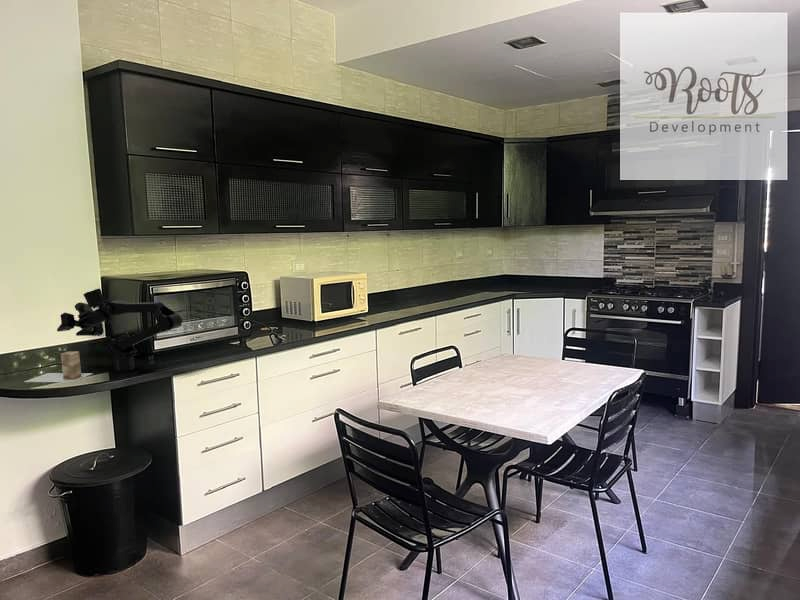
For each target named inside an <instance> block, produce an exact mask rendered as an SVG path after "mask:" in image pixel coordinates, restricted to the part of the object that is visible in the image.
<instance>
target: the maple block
mask: <svg viewBox="0 0 800 600" xmlns="http://www.w3.org/2000/svg"><path fill="white" fill-rule="evenodd" d="M80 357H81V356H80V351H66V352H63V353H60V359H61V367H62V369H61V370H62V373H63V379H76V378H79V377H81V373H82V369H81V359H80Z"/></svg>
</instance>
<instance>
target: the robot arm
mask: <svg viewBox="0 0 800 600" xmlns="http://www.w3.org/2000/svg"><path fill="white" fill-rule="evenodd" d="M82 295H83V297H84V299H85V301H86V303H85V302H78V303H76V304H75V305H74V309H75V310H76V311H78V313H79V314H77V317H78V320H76V319H75V315H74V314H72V313H69V312H63V313H61V314H60V321H61V323H60V325H59V326H58V327H57V329H56V331H57V332H58V333H59V332H66V331H67V332H68V331H71V330H72V329H74V328H75V327H76V328H80V330H79V331H77V332H76V333H75V336H77V337H81V336H88V337H90V336H92V337H100V336H102V335H103V334H104V326H103V323H104V322H106V324H107V325H109V324H112V323H114V322H115V316H119V315H123V314H126V313H127V314H131V313H142V314H143V313H151V314H152V315H153V317H154V318H155V319H154V320H156V322H155V324H153V325H151V326H149V327H147V328H145V329H142V331H140V332H138V333H136V334H134V335H132V336H130V337H129V335H128V333H126V334H123V335H118V336H117V337H116V338H113V339H111V340H110V342H108V343H107V345H108V346H107V350H108V352H109V354H110V357H111V359H112V360H114V371H116V372H123V373H124V372H131V371H133V370H135V369H136V367H135V357H134V356H136V352H137V350H136V349H135V348H134V347H133V346H134V345H135V344H137V343H139V342H141V341H143V342H144V341H145V340H147V339H150V338H151V337H154V336H156V335H158V334H160V333H165V332H169V331H171V330H175V329H177V328H180V327H181V326H182V323H183V319H182V317H181V316H180V314H177V313H176V312H175V311H174V310H173V309H171V308H169V307H167V306H166V305H164V303H162V302H160V301H156V302H129V301H126V300H122V299H117V300H116V299H115V300H112V299H105V297H104V295H103V293H102V290H101V289H100V288H95V289H93V290H91V291H86V292H85V293H83V294H82Z"/></svg>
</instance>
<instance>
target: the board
mask: <svg viewBox="0 0 800 600" xmlns="http://www.w3.org/2000/svg"><path fill="white" fill-rule="evenodd" d="M93 374H94V373H93V372H92V373H91V372H90V373H89V372H87V373H84V372H83V373H82V372H81V377H79V378H76V379H63V372H47V373H44V374H42V375H39V376H35V377H32V378H30V379H28V380H24V381H23V383H73V382H76V381H78V380H81V379H83V378H86V377H88V376H90V375H93Z"/></svg>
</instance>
